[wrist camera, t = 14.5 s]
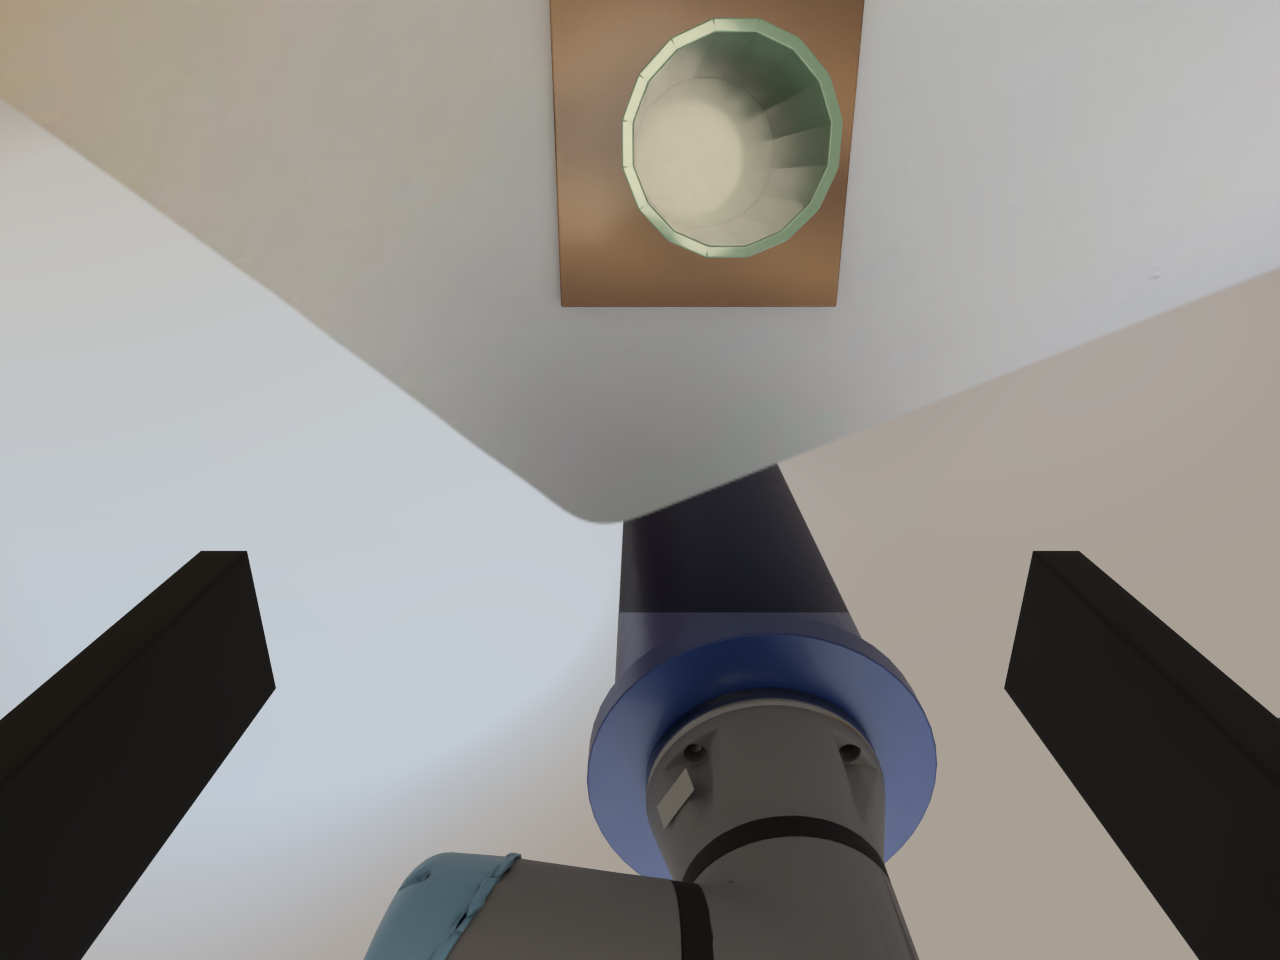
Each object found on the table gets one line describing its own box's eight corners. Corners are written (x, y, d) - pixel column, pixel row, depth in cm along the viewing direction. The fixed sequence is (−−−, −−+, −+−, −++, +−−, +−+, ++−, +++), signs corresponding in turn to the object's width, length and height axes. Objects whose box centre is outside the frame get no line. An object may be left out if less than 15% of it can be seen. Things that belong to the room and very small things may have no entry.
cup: (774, 234, 37) (831, 257, 26) (627, 234, 37) (622, 258, 26) (784, 69, 35) (852, 17, 24) (626, 69, 35) (620, 17, 24)
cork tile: (833, 305, 39) (836, 306, 39) (562, 305, 39) (561, 307, 39) (862, -12, 34) (866, -15, 34) (550, -12, 34) (548, -15, 34)
